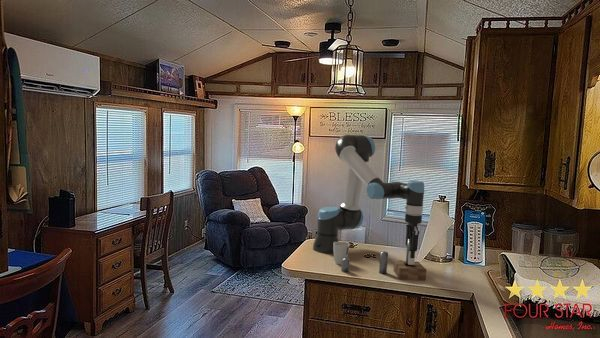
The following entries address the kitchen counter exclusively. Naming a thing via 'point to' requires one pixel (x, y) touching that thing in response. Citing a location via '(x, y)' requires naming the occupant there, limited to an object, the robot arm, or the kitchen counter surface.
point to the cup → (340, 251)
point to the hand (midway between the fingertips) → (409, 262)
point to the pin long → (408, 254)
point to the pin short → (345, 264)
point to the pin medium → (383, 262)
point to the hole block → (409, 271)
